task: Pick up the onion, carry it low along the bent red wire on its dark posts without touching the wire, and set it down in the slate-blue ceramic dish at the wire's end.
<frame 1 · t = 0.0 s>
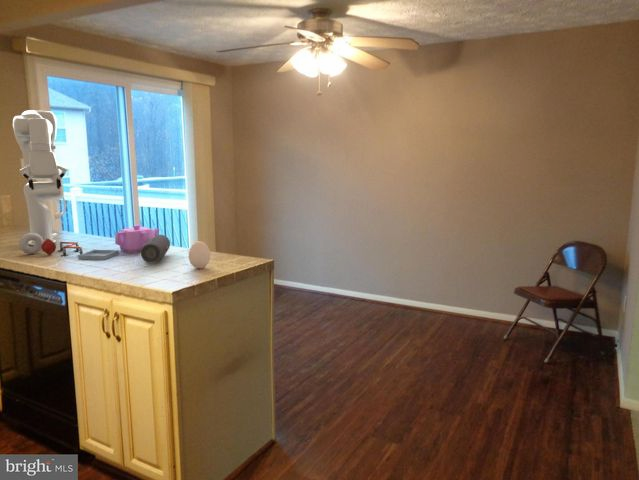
hand: (45, 189, 198), 31 cm above the worktop, tool pointing down, fingers open, 9 cm apart
dish: (99, 256, 211), on the worktop
teakettle: (138, 250, 227), on the worktop
onion: (49, 255, 214), on the worktop
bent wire: (71, 253, 217), on the worktop
donut: (32, 254, 215), on the worktop
bluetooth speaker: (157, 260, 206), on the worktop
egg: (200, 268, 191), on the worktop
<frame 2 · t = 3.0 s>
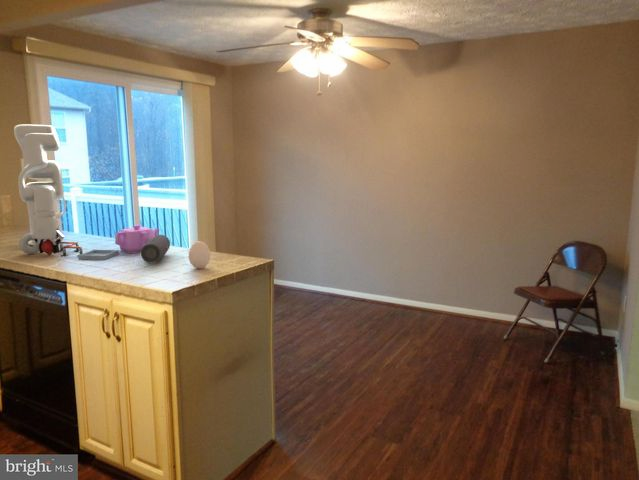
hand: (49, 252, 213), 1 cm above the worktop, tool pointing down, fingers closed on onion, 5 cm apart
onion: (49, 255, 214), on the worktop, touching gripper
everything else where it was.
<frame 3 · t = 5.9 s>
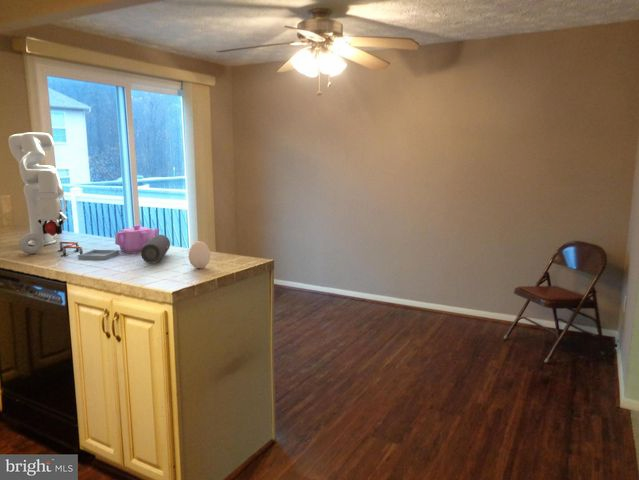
hand: (52, 233, 221), 8 cm above the worktop, tool pointing down, fingers closed on onion, 5 cm apart
onion: (52, 236, 221), point 7 cm above the worktop, touching gripper
everything else where it was.
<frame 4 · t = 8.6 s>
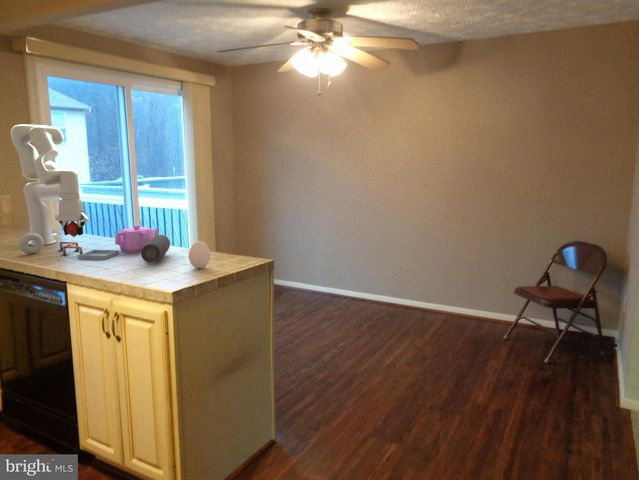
hand: (73, 234, 219), 8 cm above the worktop, tool pointing down, fingers closed on onion, 5 cm apart
onion: (74, 237, 219), point 7 cm above the worktop, touching gripper
everything else where it was.
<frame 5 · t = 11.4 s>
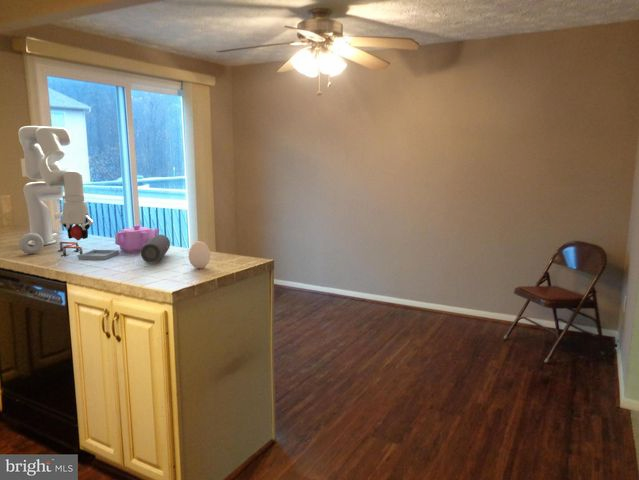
hand: (78, 237, 210), 8 cm above the worktop, tool pointing down, fingers closed on onion, 5 cm apart
onion: (78, 240, 210), point 7 cm above the worktop, touching gripper
everything else where it was.
when the fingers open (3 cm above the worktop, at t = 14.2 s): onion drops 1 cm, resting on dish.
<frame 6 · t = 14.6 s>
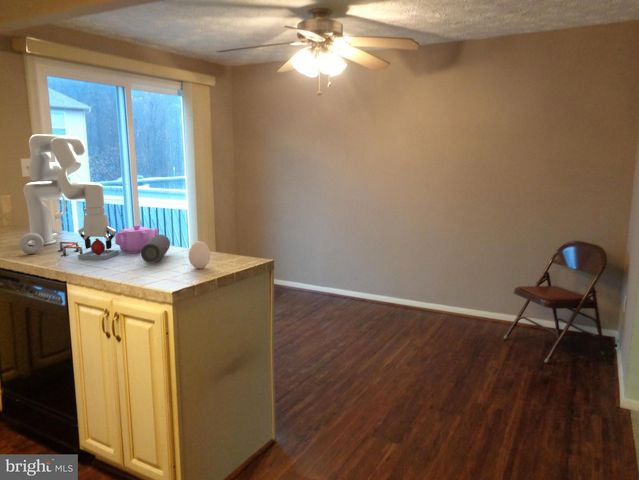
hand: (98, 248, 210), 4 cm above the worktop, tool pointing down, fingers open, 9 cm apart
onion: (98, 255, 211), resting on dish
everything else where it was.
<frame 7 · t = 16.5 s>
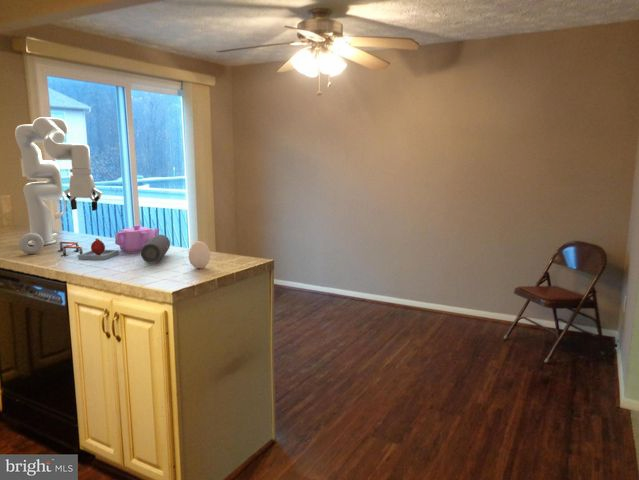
hand: (84, 209, 211), 21 cm above the worktop, tool pointing down, fingers open, 9 cm apart
nothing on the worktop moved.
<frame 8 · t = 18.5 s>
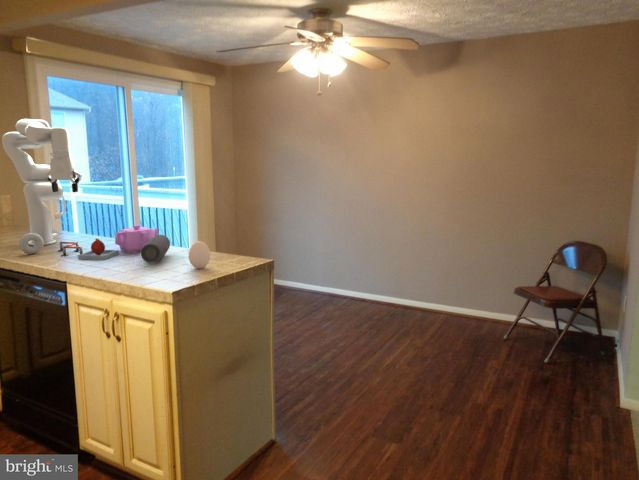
hand: (65, 191, 218), 28 cm above the worktop, tool pointing down, fingers open, 9 cm apart
nothing on the worktop moved.
at the end: onion inside the target area on the dish (0.3 cm from its centre), point 0.3 cm above the dish's base; onion touching dish; the gripper is holding nothing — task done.
